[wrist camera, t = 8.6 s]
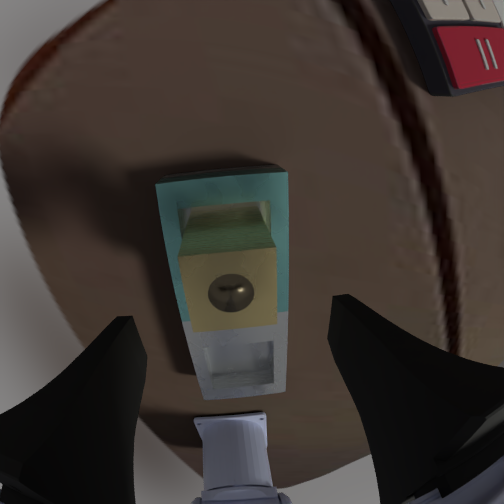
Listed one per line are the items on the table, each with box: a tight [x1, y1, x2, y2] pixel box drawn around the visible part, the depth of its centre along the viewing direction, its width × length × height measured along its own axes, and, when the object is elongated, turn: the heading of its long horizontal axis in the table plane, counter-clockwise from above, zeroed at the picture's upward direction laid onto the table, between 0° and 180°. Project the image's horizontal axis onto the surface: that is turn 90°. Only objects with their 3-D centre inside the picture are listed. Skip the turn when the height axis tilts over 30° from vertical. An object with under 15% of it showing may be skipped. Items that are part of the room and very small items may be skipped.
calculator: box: [390, 0, 504, 97], centre depth 11 cm, size 11×4×15 cm
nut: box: [178, 206, 277, 332], centre depth 15 cm, size 4×4×6 cm
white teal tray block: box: [155, 165, 289, 400], centre depth 20 cm, size 18×7×3 cm, turn 3°
